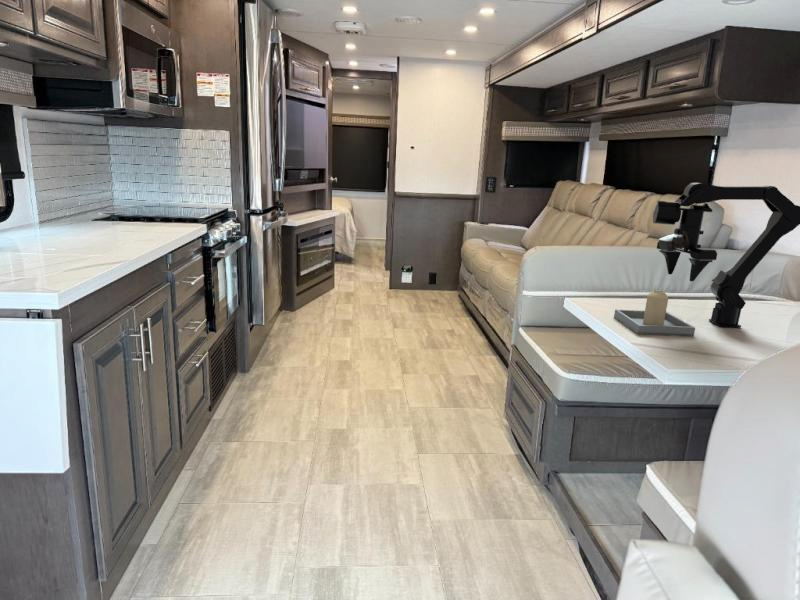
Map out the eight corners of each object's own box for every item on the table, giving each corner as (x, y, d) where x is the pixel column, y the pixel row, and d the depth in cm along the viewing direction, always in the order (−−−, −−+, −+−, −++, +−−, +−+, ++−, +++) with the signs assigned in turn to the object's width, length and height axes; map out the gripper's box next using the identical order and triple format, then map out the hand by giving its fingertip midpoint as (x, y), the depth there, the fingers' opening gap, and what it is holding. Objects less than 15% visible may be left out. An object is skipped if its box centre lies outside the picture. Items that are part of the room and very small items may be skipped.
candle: (639, 323, 161) (644, 290, 158) (649, 320, 164) (654, 288, 162) (657, 328, 157) (663, 294, 154) (667, 325, 160) (673, 292, 158)
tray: (664, 319, 169) (666, 311, 168) (693, 336, 153) (695, 327, 153) (613, 317, 168) (615, 309, 167) (637, 334, 153) (639, 325, 152)
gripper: (646, 221, 169) (637, 271, 173) (690, 230, 152) (679, 285, 156) (676, 222, 172) (667, 271, 176) (723, 231, 155) (712, 285, 159)
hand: (680, 277), depth 167 cm, fingers open, 9 cm apart
